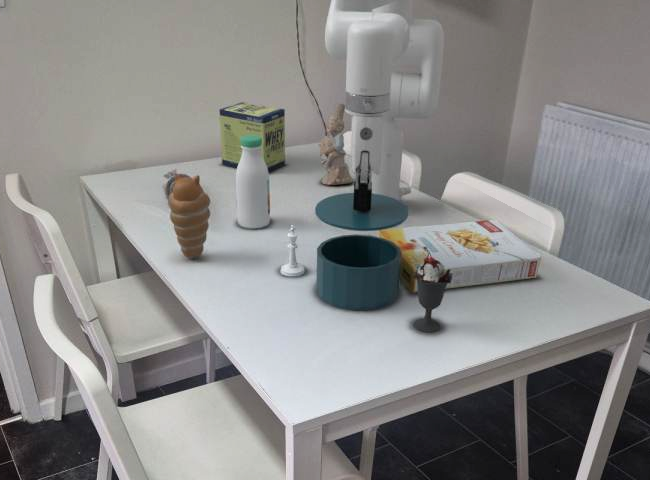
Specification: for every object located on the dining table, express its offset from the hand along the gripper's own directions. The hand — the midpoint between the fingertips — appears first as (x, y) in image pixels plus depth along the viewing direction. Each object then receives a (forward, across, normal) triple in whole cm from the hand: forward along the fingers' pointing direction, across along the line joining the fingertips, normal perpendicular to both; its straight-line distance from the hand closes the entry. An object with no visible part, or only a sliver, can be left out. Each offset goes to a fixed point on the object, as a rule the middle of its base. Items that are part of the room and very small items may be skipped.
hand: (361, 205), depth 131 cm
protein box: (+19, +76, +30) cm, 84 cm away
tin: (+17, -1, 0) cm, 17 cm away
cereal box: (+18, +13, -20) cm, 30 cm away
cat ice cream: (+18, +12, +35) cm, 41 cm away
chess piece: (+18, +7, +14) cm, 23 cm away
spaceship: (+18, +42, +44) cm, 64 cm away
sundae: (+17, -14, -13) cm, 25 cm away
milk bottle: (+18, +32, +25) cm, 45 cm away
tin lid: (+1, 0, 0) cm, 1 cm away
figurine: (+19, +64, +6) cm, 67 cm away
